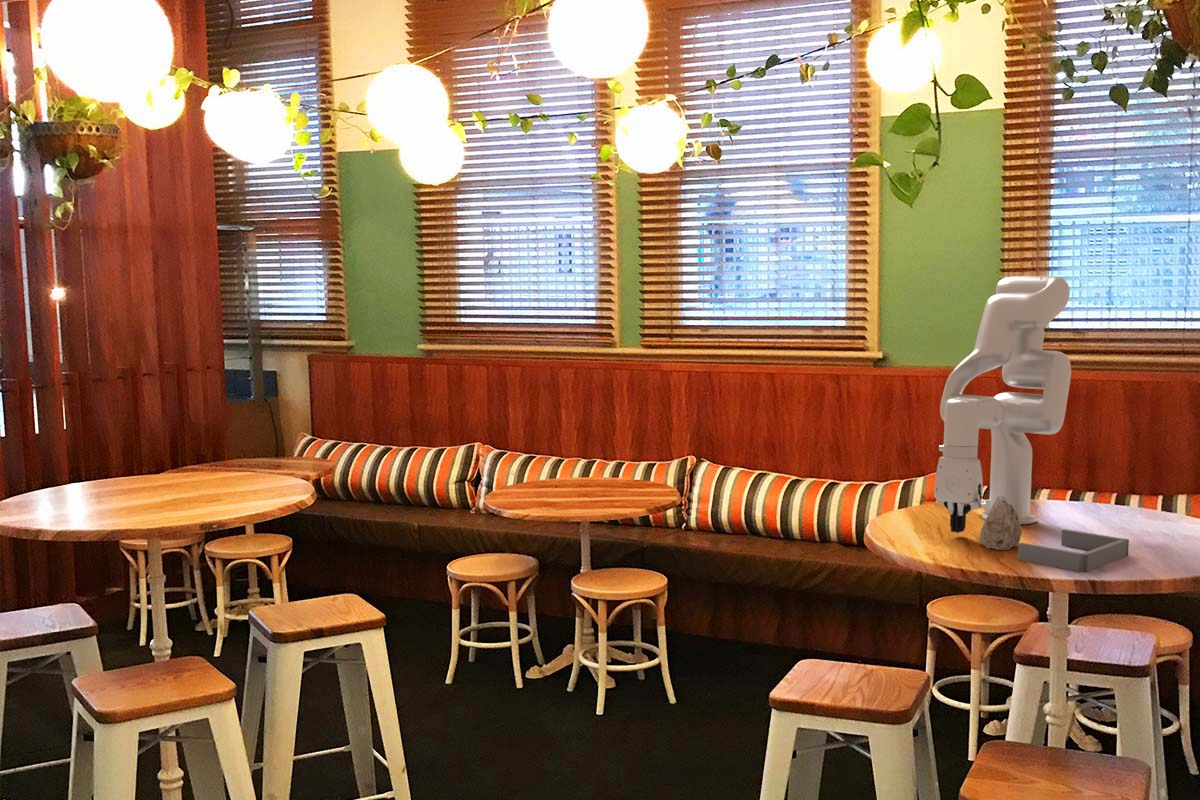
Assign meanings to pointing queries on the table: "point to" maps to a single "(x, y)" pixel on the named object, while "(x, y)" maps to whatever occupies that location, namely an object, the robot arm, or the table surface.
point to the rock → (1001, 526)
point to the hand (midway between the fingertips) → (957, 531)
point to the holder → (1099, 554)
